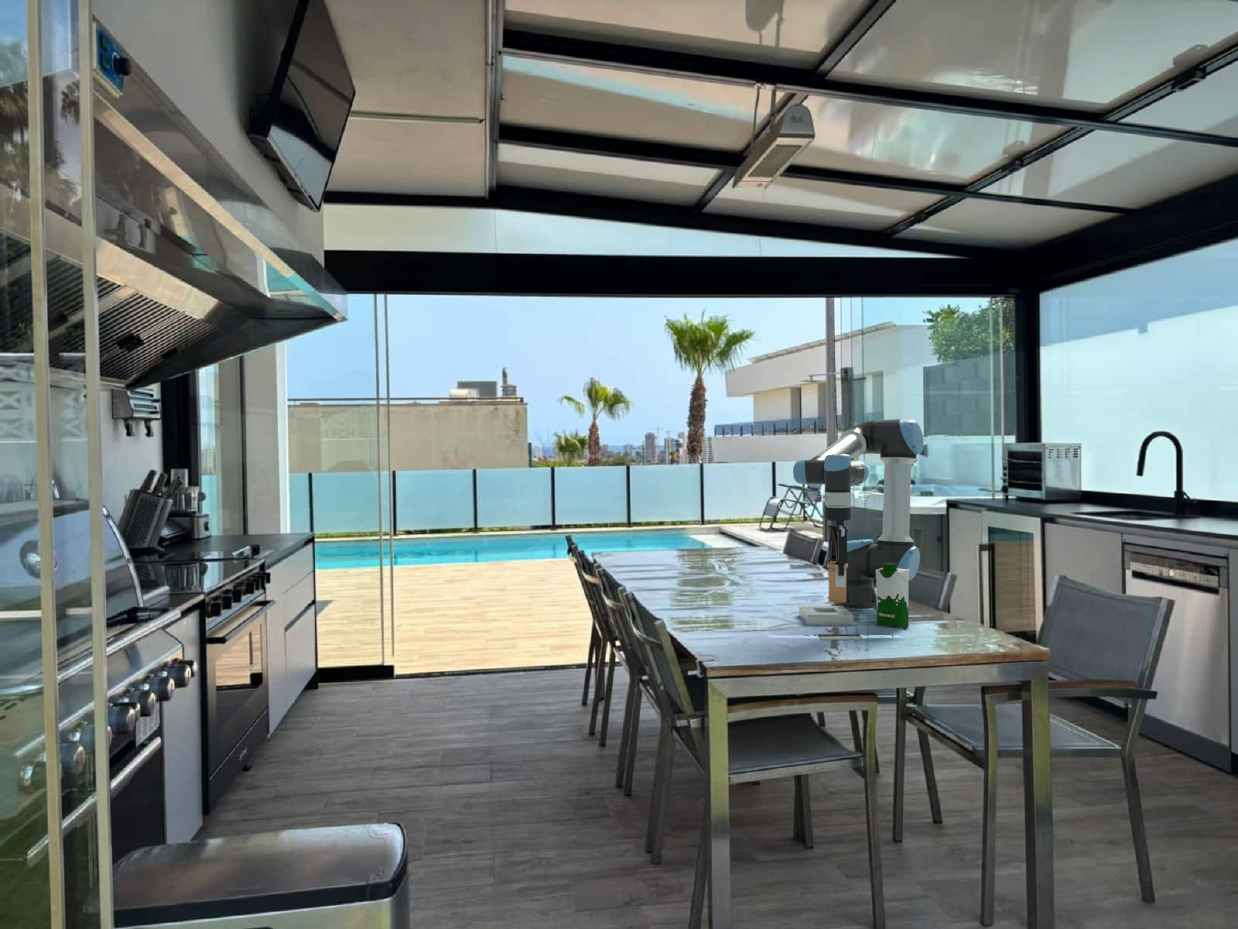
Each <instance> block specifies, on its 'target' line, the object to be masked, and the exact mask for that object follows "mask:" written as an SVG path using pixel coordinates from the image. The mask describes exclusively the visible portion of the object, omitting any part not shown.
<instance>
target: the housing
mask: <svg viewBox="0 0 1238 929" xmlns="http://www.w3.org/2000/svg"><path fill="white" fill-rule="evenodd" d="M798 606H799V605H798ZM798 610H799V611H798V615H799V617H800V618H801V619H802V621H804V623H806V625H808V626H811V625H812V626H820V625H821V626H825V625H827V626H828V625H829V626H830V625H831V626H832V625H833V626H834V625H835V626H836V625H837V626H839V625H842V626H845V625H847V626H848V625H851V626H852V625H855V624H854V623H855V622H854V613H852V612H850V610H849V609H848V608H844V607H843V606H833V605H800V606H799V607H798Z"/></svg>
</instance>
